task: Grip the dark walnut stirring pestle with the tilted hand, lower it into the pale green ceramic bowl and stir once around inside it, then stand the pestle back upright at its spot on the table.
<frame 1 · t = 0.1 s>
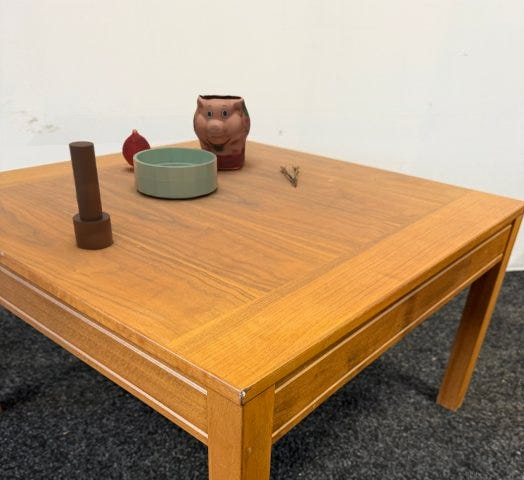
decorative planter: (222, 164, 122), on the table
onion: (138, 170, 116), on the table
bowl: (177, 188, 105), on the table
pestle: (95, 242, 81), on the table
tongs: (293, 179, 114), on the table
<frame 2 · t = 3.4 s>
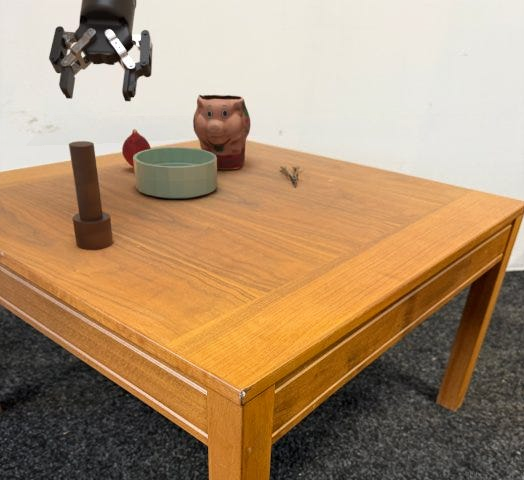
hand: (96, 96, 78), 19 cm above the table, tool tilted 45°, fingers open, 8 cm apart
nothing on the table moved.
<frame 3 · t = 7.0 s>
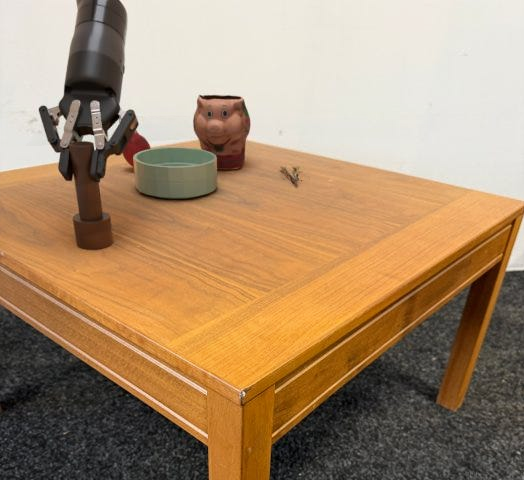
hand: (81, 178, 74), 10 cm above the table, tool tilted 45°, fingers closed on pestle, 3 cm apart
pestle: (95, 242, 81), on the table, touching gripper
everything else where it was.
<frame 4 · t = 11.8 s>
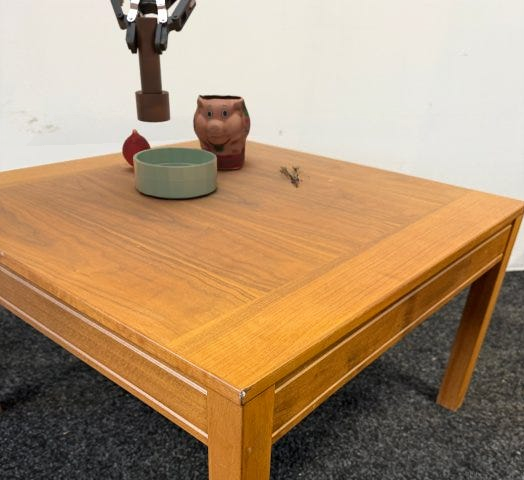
hand: (145, 49, 81), 24 cm above the table, tool tilted 45°, fingers closed on pestle, 3 cm apart
pestle: (154, 119, 88), point 14 cm above the table, touching gripper
everything else where it was.
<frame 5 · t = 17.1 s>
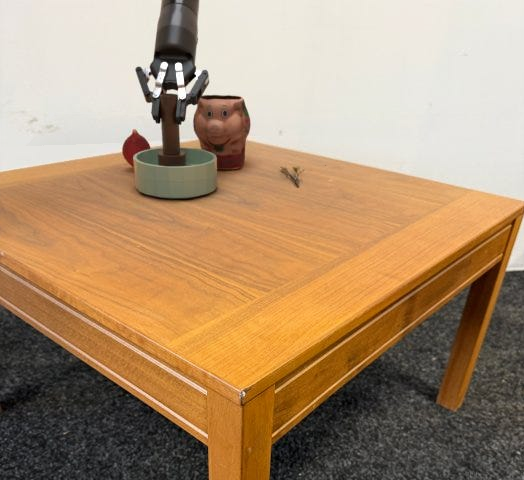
hand: (167, 121, 98), 12 cm above the table, tool tilted 45°, fingers closed on pestle, 3 cm apart
pestle: (172, 174, 105), point 2 cm above the table, touching gripper
everything else where it was.
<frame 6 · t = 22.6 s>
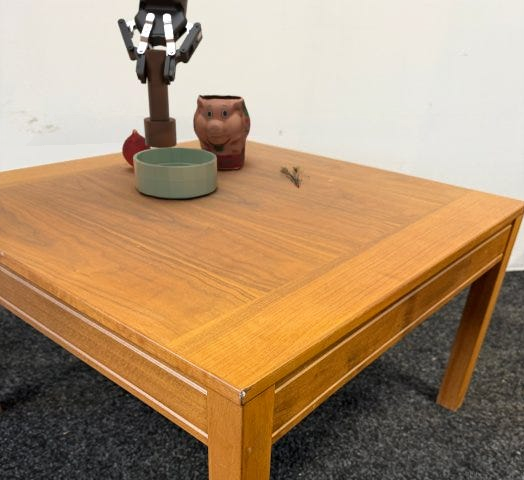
hand: (154, 80, 85), 20 cm above the table, tool tilted 45°, fingers closed on pestle, 3 cm apart
pestle: (161, 144, 92), point 10 cm above the table, touching gripper
everything else where it was.
when the fingers open (10 cm above the table, at t = 27.3 s): pestle stays where it is, on the table.
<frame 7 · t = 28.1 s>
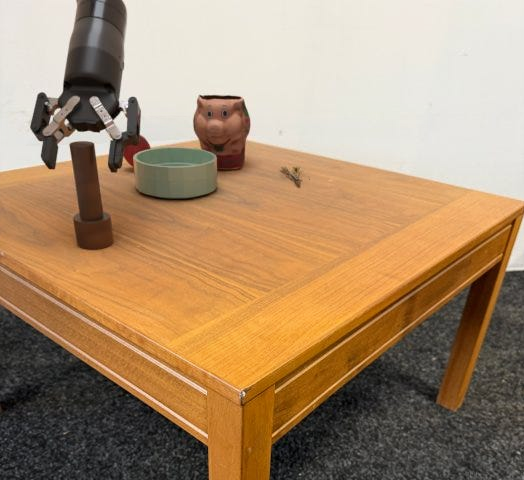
hand: (80, 168, 74), 11 cm above the table, tool tilted 45°, fingers open, 8 cm apart
pestle: (95, 242, 81), on the table
everything else where it was.
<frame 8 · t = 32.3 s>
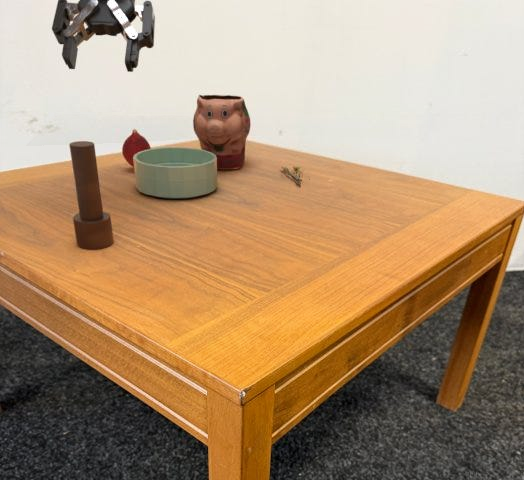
hand: (99, 66, 79), 22 cm above the table, tool tilted 45°, fingers open, 8 cm apart
nothing on the table moved.
at the end: pestle inside the target area on the table beside the bowl (0.1 cm from its centre), on the table; pestle tilted 0°; the gripper is holding nothing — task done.
